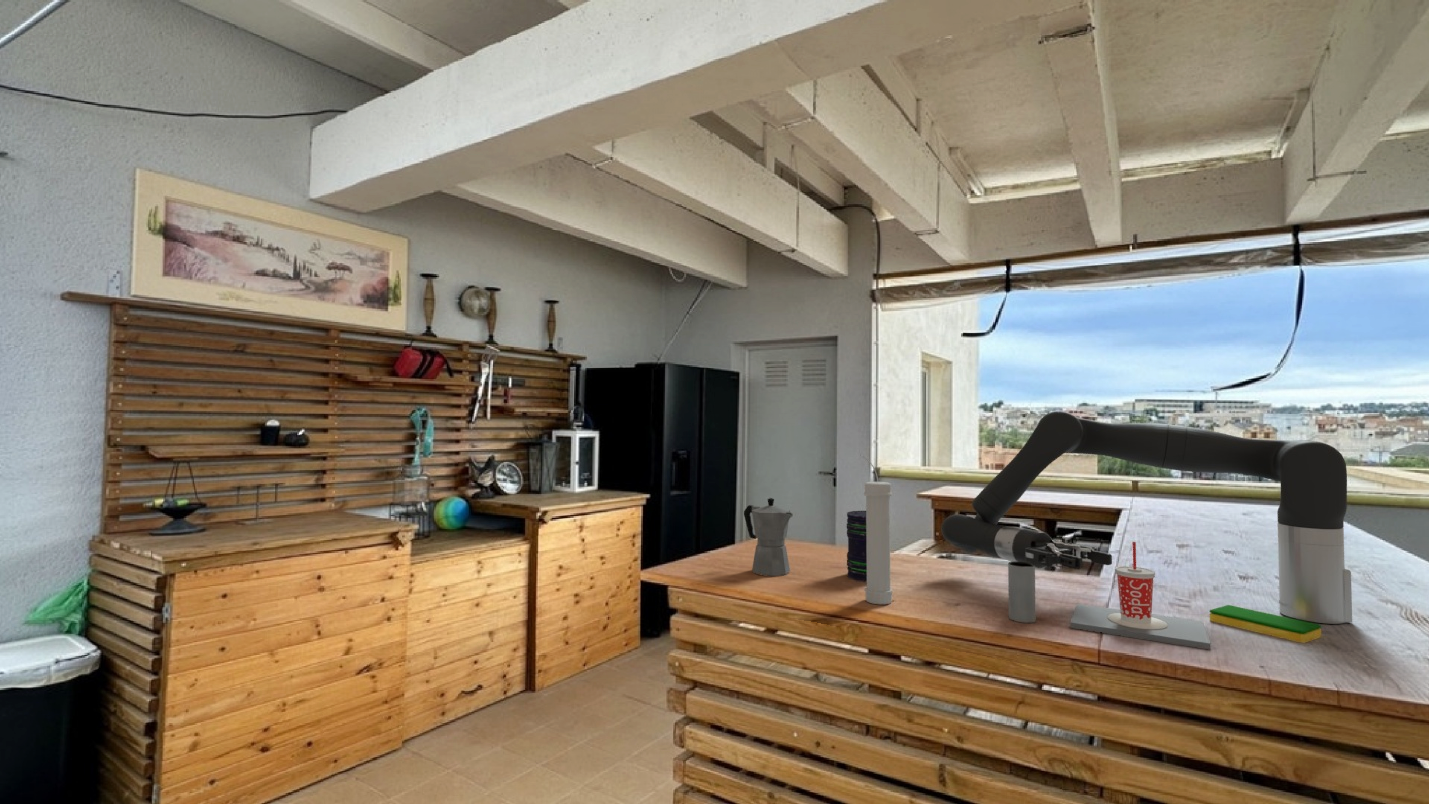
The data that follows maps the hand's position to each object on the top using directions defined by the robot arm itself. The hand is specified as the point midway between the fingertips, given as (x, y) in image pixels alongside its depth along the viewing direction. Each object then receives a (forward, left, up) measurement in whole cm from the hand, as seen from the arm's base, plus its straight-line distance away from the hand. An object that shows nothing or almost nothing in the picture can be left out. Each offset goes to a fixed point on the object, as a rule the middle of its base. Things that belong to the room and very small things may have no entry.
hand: (1096, 561), depth 123 cm
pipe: (+40, -2, -10) cm, 42 cm away
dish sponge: (-27, +2, -11) cm, 29 cm away
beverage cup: (-4, +6, -9) cm, 12 cm away
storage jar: (+42, -23, -10) cm, 49 cm away
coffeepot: (+65, -24, -10) cm, 71 cm away
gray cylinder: (+14, +5, -10) cm, 18 cm away
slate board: (-5, +6, -10) cm, 13 cm away
